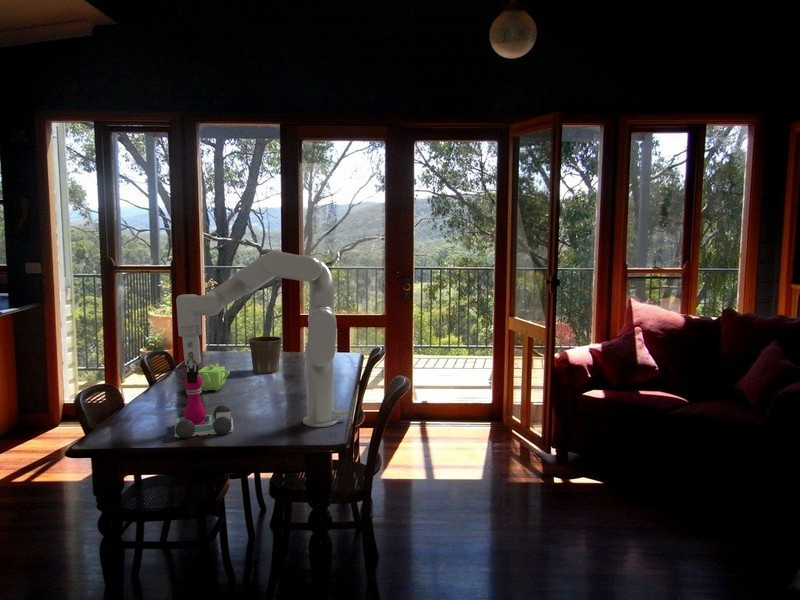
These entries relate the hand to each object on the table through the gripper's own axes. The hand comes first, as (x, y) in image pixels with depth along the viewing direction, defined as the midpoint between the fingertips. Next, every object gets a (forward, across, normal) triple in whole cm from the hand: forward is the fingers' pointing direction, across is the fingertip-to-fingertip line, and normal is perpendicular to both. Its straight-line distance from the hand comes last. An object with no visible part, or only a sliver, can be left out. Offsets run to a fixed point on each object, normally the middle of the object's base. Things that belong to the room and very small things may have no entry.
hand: (193, 379), depth 217 cm
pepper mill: (+17, 0, 0) cm, 17 cm away
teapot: (+18, +56, -5) cm, 59 cm away
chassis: (+18, 0, -3) cm, 18 cm away
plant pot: (+18, +84, -30) cm, 91 cm away
